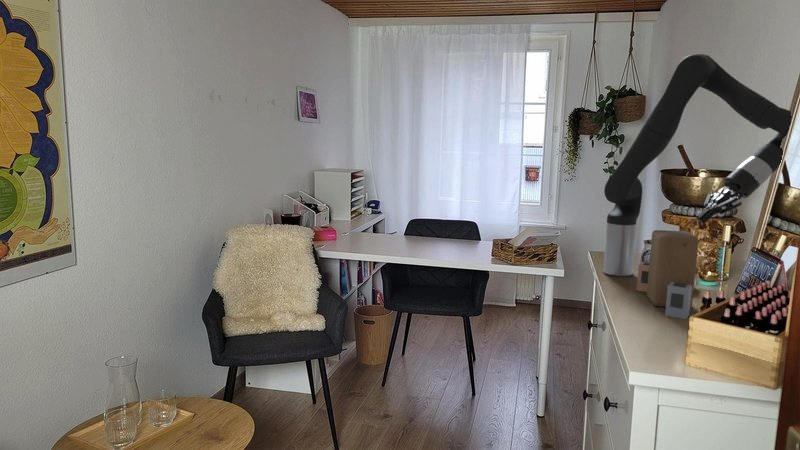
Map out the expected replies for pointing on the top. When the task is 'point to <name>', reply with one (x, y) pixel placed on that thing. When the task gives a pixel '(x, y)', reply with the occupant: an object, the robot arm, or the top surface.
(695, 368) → the top surface
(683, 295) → the slate tagged block
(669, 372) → the top surface
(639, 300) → the top surface
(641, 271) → the terracotta tagged block
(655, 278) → the wooden block
